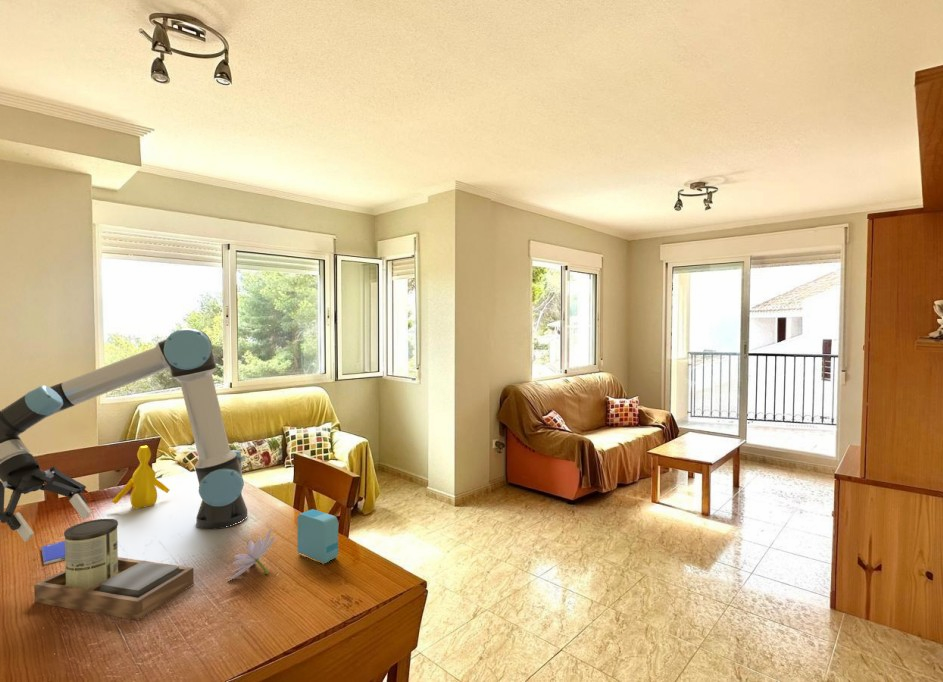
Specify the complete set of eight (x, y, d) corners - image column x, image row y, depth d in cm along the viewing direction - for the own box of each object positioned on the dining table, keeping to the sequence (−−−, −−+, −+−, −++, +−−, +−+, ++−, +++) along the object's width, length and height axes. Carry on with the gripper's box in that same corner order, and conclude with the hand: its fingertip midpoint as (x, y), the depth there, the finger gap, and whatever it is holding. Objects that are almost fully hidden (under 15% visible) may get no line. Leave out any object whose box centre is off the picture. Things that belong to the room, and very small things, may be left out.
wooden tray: (34, 602, 112) (34, 580, 112) (100, 569, 128) (100, 550, 127) (137, 620, 105) (137, 597, 105) (194, 583, 121) (194, 563, 121)
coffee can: (62, 583, 118) (62, 526, 118) (114, 569, 125) (114, 515, 125) (67, 600, 111) (66, 539, 110) (122, 584, 118) (121, 526, 117)
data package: (338, 559, 134) (338, 516, 133) (325, 566, 130) (325, 522, 130) (310, 548, 140) (310, 507, 140) (297, 554, 137) (296, 512, 136)
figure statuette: (168, 497, 183) (167, 439, 182) (174, 502, 177) (173, 442, 177) (110, 510, 170) (109, 447, 169) (115, 516, 164) (114, 451, 164)
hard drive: (41, 546, 139) (43, 561, 130) (78, 537, 145) (82, 551, 136) (41, 551, 139) (43, 566, 130) (78, 542, 145) (82, 557, 136)
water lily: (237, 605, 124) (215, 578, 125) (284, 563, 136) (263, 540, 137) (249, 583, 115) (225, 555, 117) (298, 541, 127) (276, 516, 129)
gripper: (57, 459, 136) (100, 516, 133) (-58, 487, 112) (-8, 558, 108) (71, 441, 135) (115, 499, 131) (-42, 465, 110) (9, 537, 107)
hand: (60, 526), depth 120 cm, fingers open, 13 cm apart
